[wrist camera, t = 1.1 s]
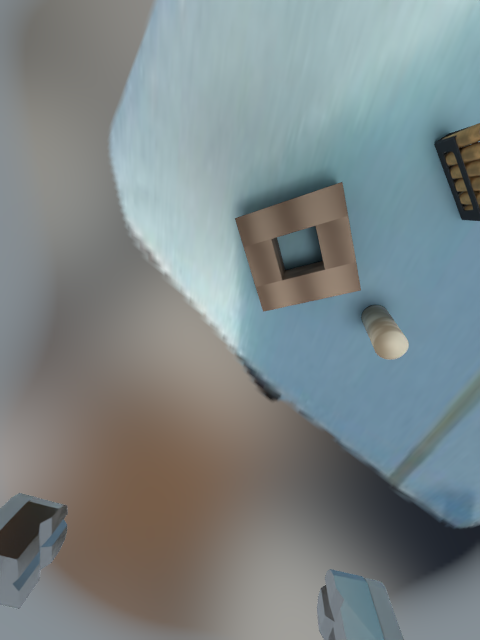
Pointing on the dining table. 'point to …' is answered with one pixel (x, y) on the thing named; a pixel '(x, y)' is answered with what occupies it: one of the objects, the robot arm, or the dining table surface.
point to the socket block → (308, 280)
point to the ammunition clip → (463, 169)
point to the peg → (384, 332)
